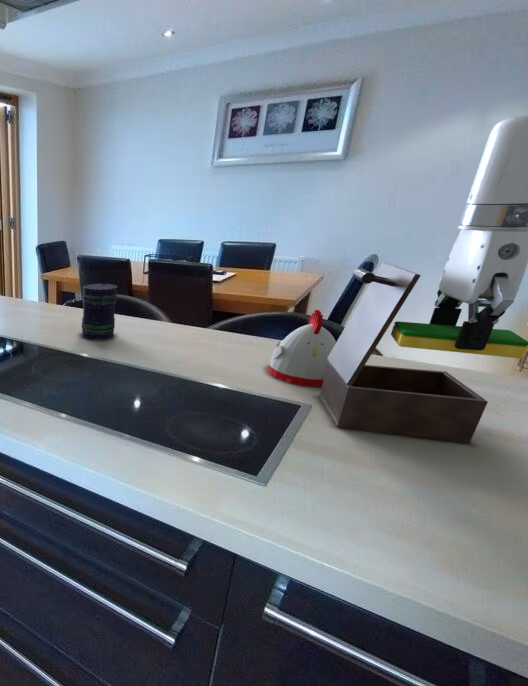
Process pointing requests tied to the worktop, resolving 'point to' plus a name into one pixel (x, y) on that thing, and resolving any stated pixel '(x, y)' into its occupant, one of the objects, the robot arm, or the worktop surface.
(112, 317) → the black striped canister
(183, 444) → the worktop surface
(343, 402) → the chest
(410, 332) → the dish sponge
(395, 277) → the lid
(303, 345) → the kitchen timer
